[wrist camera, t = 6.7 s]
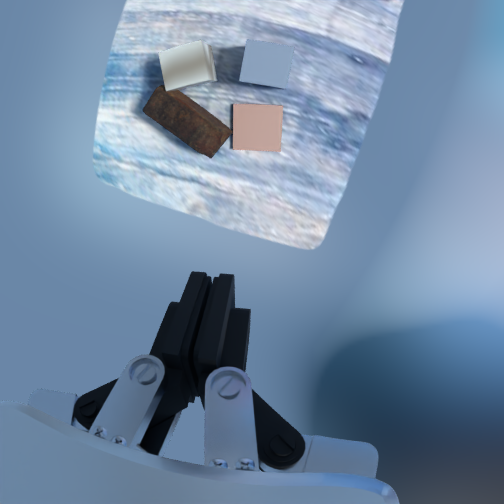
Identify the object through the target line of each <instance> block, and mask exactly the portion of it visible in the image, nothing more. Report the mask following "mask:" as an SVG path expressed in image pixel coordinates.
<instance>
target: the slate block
mask: <svg viewBox="0 0 504 504" xmlns="http://www.w3.org/2000/svg"><path fill="white" fill-rule="evenodd" d="M294 49H295V47H292V46H287V45H282V44H276V43H270V42H264V41H257V40H249V39H247V41H246V46H245V51H244V57H243V62H242V68H241V73H240V79H239V81H241V82H246V83H252V84H259V85H265V86H271V87H276V88H281V89H287V84H288V79H289V74H290V69H291V64H292V59H293V54H294Z"/></svg>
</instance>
